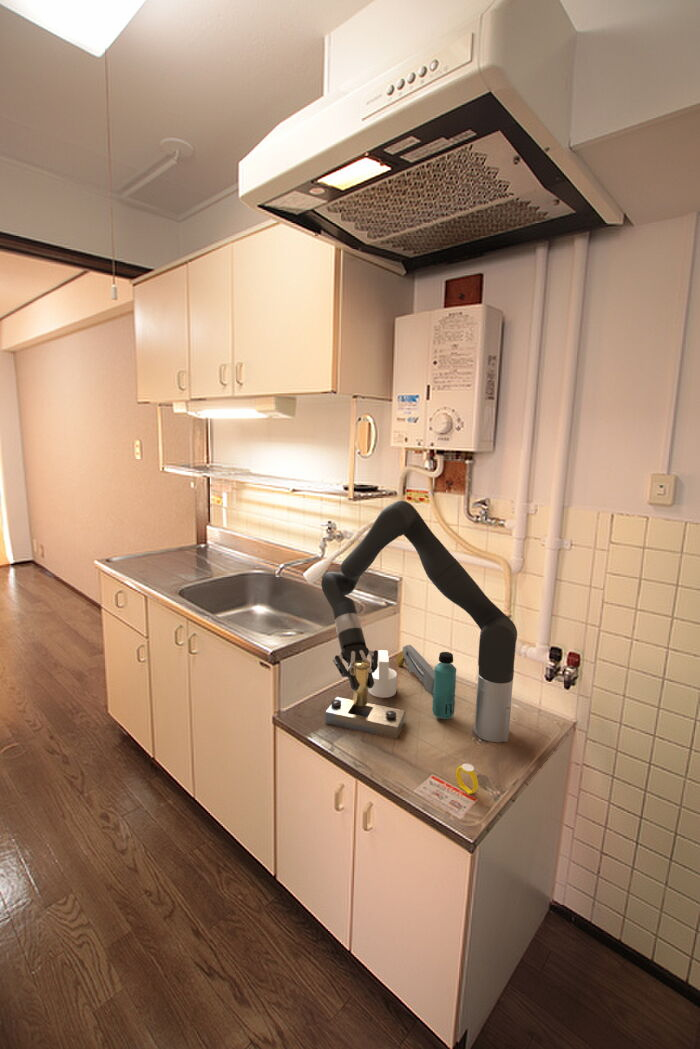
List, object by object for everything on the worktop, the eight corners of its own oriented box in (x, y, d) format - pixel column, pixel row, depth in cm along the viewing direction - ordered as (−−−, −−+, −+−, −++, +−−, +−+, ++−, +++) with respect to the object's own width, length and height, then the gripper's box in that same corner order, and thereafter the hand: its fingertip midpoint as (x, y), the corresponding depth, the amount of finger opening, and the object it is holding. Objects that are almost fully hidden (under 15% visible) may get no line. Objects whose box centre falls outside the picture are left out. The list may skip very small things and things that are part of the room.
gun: (426, 717, 164) (439, 685, 156) (392, 661, 183) (402, 631, 175) (434, 714, 165) (447, 683, 158) (399, 660, 184) (409, 629, 177)
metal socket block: (404, 722, 145) (405, 707, 144) (396, 739, 136) (397, 723, 135) (336, 707, 151) (336, 693, 151) (325, 723, 143) (325, 708, 142)
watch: (479, 796, 116) (482, 774, 114) (470, 800, 114) (473, 778, 113) (461, 779, 121) (463, 757, 119) (452, 783, 119) (455, 761, 118)
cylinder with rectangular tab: (397, 698, 158) (398, 662, 156) (368, 697, 158) (369, 661, 156) (395, 684, 167) (396, 650, 165) (368, 683, 167) (369, 649, 165)
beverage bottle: (444, 726, 143) (448, 660, 140) (426, 716, 148) (430, 652, 145) (458, 719, 147) (463, 654, 144) (441, 709, 152) (444, 647, 149)
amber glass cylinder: (370, 699, 145) (372, 660, 143) (365, 708, 140) (367, 668, 138) (355, 696, 146) (356, 658, 144) (349, 704, 142) (351, 665, 140)
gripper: (330, 629, 144) (343, 688, 135) (375, 624, 149) (391, 680, 140) (324, 639, 150) (336, 696, 141) (367, 634, 155) (382, 689, 146)
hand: (363, 688), depth 141 cm, fingers closed on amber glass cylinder, 4 cm apart
